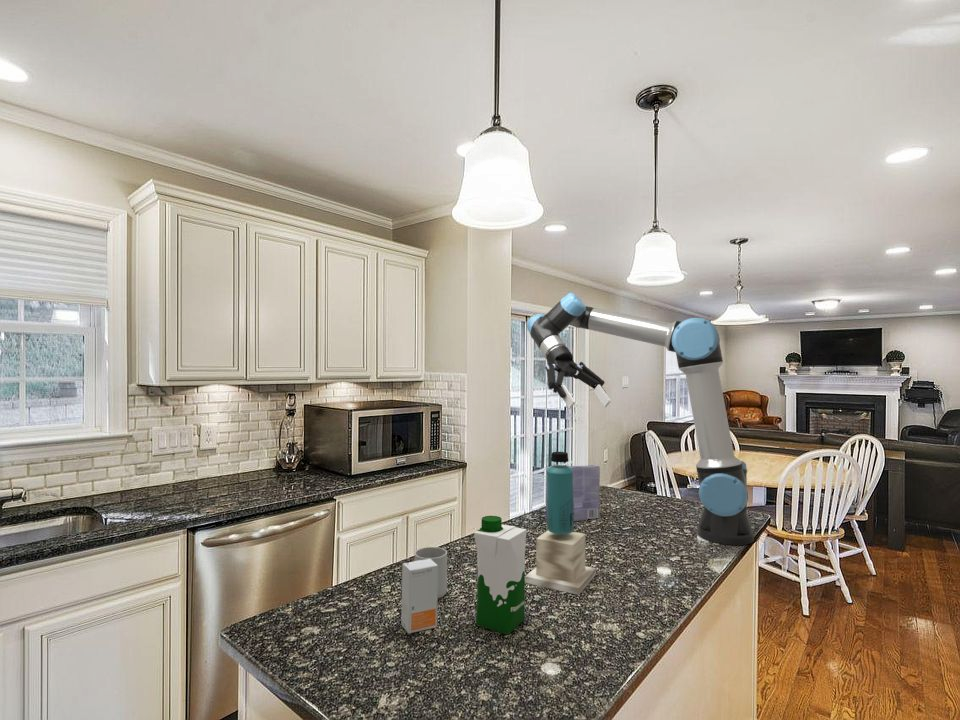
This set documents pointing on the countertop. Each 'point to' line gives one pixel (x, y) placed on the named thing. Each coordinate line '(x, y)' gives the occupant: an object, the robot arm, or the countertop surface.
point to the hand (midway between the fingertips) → (590, 404)
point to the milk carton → (500, 575)
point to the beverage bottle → (560, 496)
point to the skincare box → (419, 595)
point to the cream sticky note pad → (561, 563)
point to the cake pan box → (584, 492)
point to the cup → (440, 559)
